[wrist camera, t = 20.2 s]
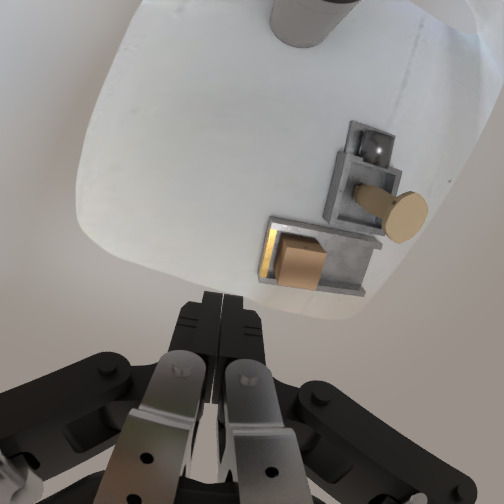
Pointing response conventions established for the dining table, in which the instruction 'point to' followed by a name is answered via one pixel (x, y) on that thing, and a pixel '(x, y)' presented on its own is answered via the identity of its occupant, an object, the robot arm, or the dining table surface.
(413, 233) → the handle
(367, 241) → the bay
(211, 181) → the dining table surface
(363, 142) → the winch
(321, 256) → the tan cardboard box
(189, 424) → the robot arm
